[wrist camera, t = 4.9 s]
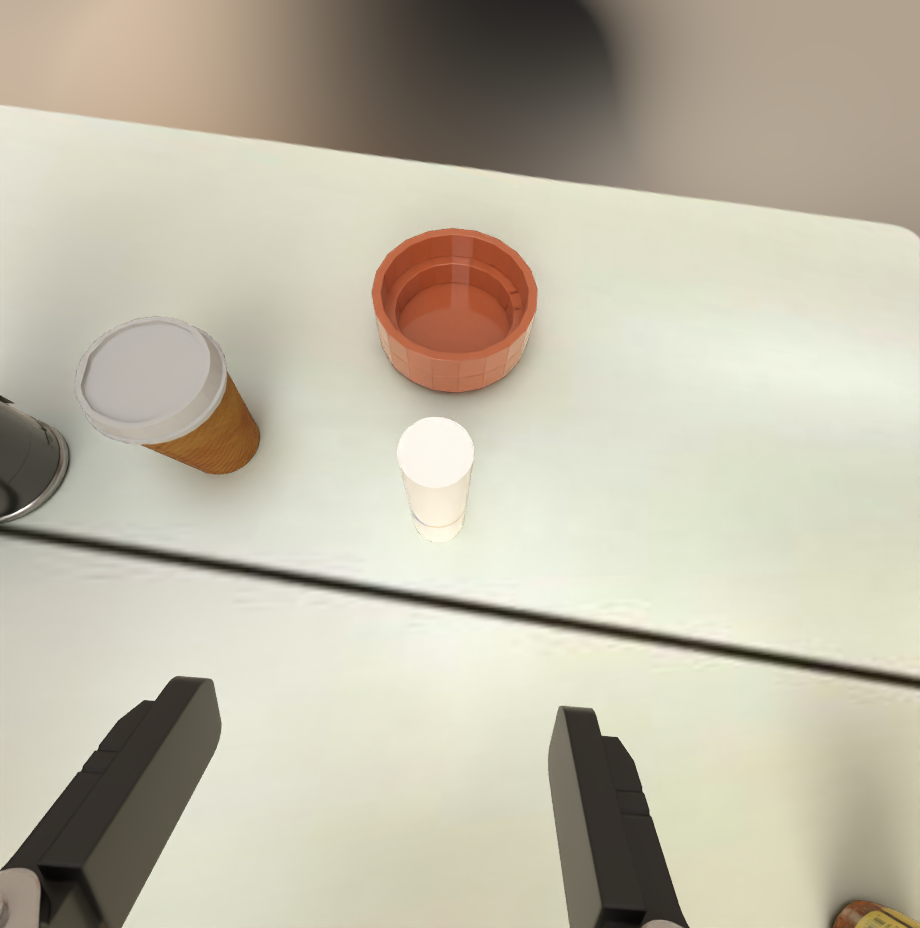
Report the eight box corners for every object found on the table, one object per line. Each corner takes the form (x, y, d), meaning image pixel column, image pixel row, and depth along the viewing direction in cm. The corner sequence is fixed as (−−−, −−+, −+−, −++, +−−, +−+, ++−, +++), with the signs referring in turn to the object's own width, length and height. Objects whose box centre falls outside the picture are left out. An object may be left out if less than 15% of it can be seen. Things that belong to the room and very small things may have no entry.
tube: (469, 500, 40) (481, 426, 26) (457, 548, 39) (463, 496, 25) (421, 488, 41) (409, 409, 27) (408, 535, 39) (387, 477, 25)
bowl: (458, 425, 43) (460, 392, 37) (350, 334, 46) (337, 292, 41) (555, 330, 47) (569, 288, 42) (449, 253, 50) (450, 205, 45)
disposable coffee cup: (214, 379, 44) (136, 290, 33) (299, 422, 43) (246, 345, 31) (146, 462, 41) (33, 395, 30) (234, 511, 40) (151, 460, 28)
